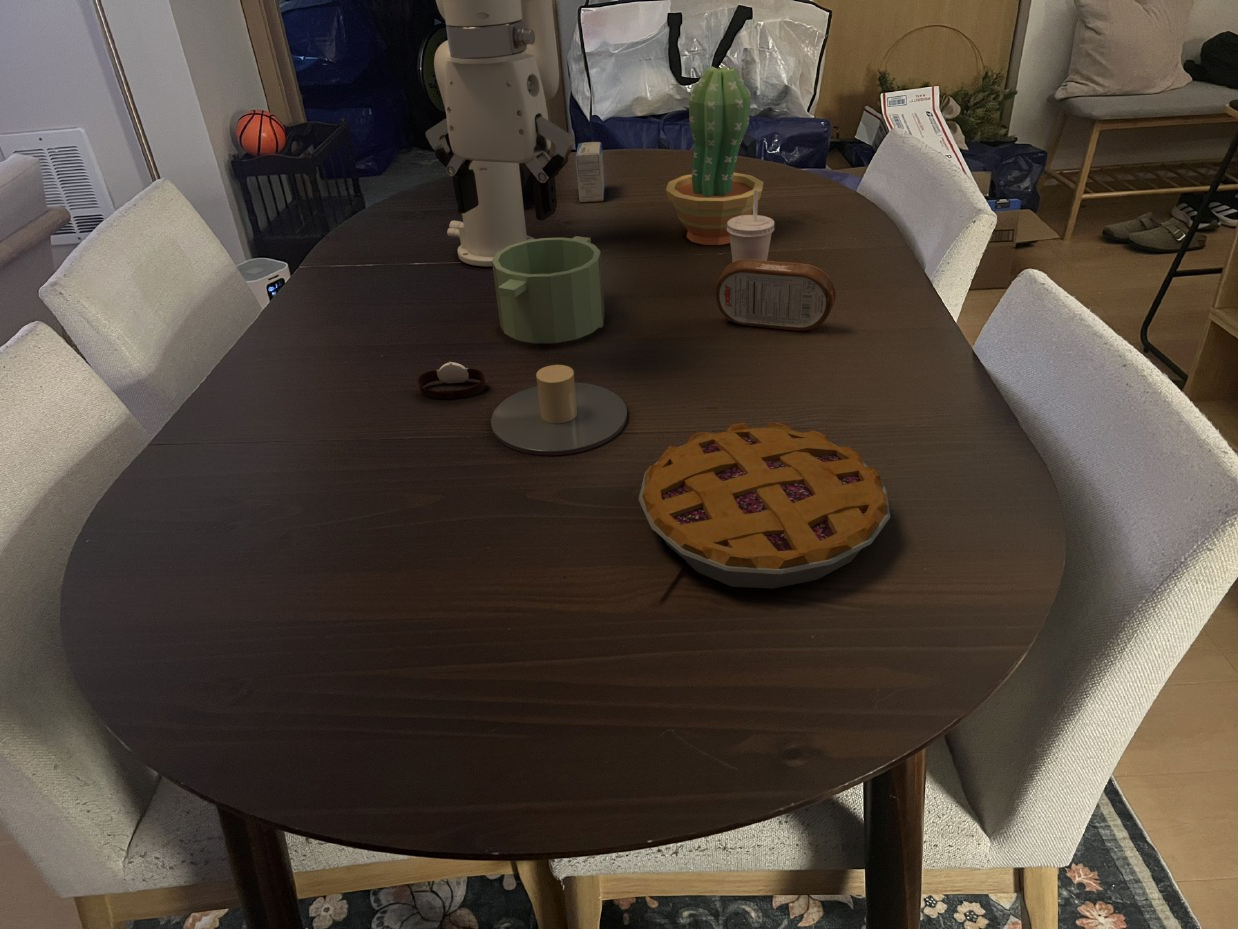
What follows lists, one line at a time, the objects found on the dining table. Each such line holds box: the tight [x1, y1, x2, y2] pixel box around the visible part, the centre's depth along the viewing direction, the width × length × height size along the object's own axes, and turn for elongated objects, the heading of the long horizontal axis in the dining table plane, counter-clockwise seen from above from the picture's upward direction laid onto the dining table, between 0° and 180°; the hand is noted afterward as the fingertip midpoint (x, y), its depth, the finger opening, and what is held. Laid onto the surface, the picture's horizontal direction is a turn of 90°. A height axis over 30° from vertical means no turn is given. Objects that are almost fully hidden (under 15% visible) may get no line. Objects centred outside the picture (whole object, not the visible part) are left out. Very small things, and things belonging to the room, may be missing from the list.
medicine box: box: [575, 141, 605, 203], centre depth 166 cm, size 8×4×9 cm, turn 179°
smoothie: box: [727, 189, 775, 263], centre depth 125 cm, size 6×6×14 cm
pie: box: [638, 421, 891, 589], centre depth 83 cm, size 22×22×5 cm
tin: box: [714, 259, 837, 332], centre depth 116 cm, size 15×3×8 cm, turn 71°
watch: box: [417, 361, 486, 400], centre depth 106 cm, size 8×5×4 cm, turn 91°
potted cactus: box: [665, 65, 764, 246], centre depth 141 cm, size 15×15×25 cm
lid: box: [490, 364, 628, 457], centre depth 99 cm, size 15×15×6 cm
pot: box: [492, 235, 605, 344], centre depth 120 cm, size 14×19×10 cm
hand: (506, 213), depth 100 cm, fingers open, 9 cm apart
